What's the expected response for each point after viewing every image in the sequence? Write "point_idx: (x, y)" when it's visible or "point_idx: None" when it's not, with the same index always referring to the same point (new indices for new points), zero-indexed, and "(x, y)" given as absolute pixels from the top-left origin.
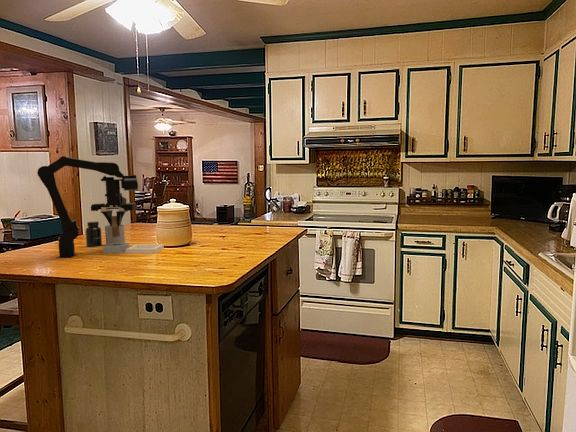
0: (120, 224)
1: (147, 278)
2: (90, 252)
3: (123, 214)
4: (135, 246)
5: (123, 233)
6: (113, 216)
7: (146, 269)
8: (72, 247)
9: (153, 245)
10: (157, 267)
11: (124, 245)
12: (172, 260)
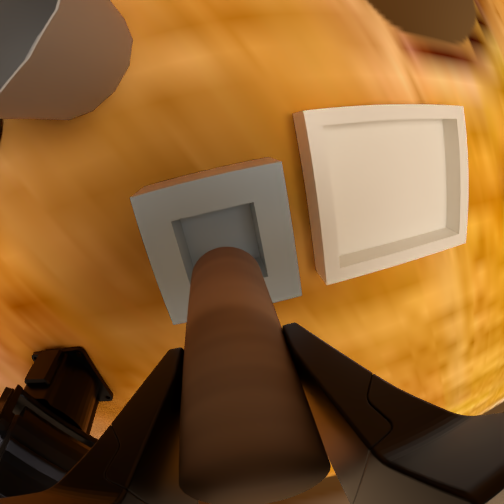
0: (308, 333)
1: None
2: (64, 271)
3: (446, 424)
4: (325, 154)
5: (101, 2)
6: (235, 491)
7: (448, 394)
8: (86, 410)
9: (422, 118)
10: (468, 372)
11: (294, 244)
12: (498, 301)
